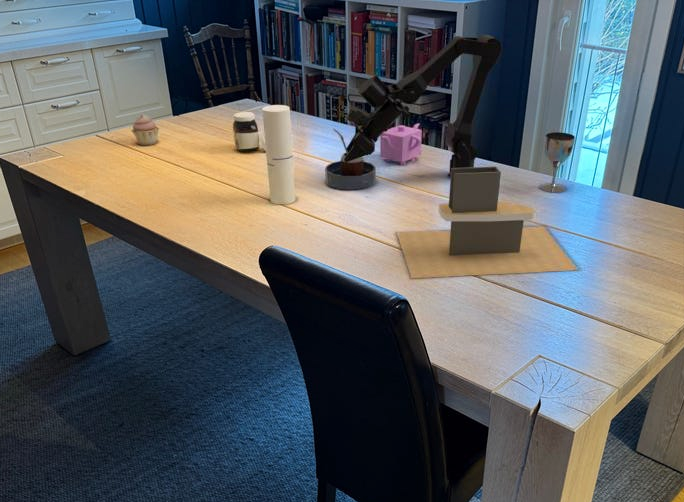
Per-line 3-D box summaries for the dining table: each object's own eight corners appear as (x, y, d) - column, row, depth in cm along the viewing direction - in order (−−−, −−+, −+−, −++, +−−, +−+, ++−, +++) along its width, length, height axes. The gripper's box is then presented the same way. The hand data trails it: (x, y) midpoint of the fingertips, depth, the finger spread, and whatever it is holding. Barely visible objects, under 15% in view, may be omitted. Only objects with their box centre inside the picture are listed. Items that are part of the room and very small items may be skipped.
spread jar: (232, 147, 233) (228, 112, 226) (264, 143, 237) (261, 108, 230) (242, 157, 224) (238, 120, 217) (275, 152, 228) (272, 116, 221)
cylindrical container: (291, 205, 188) (284, 112, 174) (266, 203, 189) (258, 111, 175) (298, 196, 193) (292, 105, 179) (274, 194, 195) (267, 104, 181)
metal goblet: (535, 190, 196) (542, 138, 188) (542, 181, 202) (550, 130, 194) (562, 194, 193) (571, 141, 185) (569, 186, 199) (577, 134, 191)
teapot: (423, 167, 214) (424, 132, 208) (381, 167, 214) (381, 132, 208) (418, 152, 227) (419, 119, 221) (378, 153, 226) (379, 120, 220)
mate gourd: (367, 183, 201) (367, 131, 193) (342, 186, 199) (341, 134, 190) (358, 175, 207) (357, 125, 199) (334, 178, 205) (332, 128, 196)
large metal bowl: (385, 179, 204) (385, 166, 202) (355, 194, 194) (355, 179, 192) (346, 170, 212) (346, 157, 209) (315, 183, 202) (314, 169, 200)
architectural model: (543, 226, 174) (555, 149, 163) (578, 270, 153) (594, 185, 142) (396, 232, 171) (398, 155, 160) (411, 278, 150) (414, 192, 139)
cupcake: (133, 140, 240) (127, 111, 234) (160, 138, 242) (155, 109, 236) (134, 148, 232) (128, 118, 227) (162, 145, 235) (157, 116, 229)
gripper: (364, 89, 197) (328, 127, 203) (362, 104, 182) (323, 146, 188) (390, 117, 201) (354, 153, 208) (391, 134, 186) (351, 173, 192)
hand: (345, 156), depth 199 cm, fingers open, 9 cm apart
